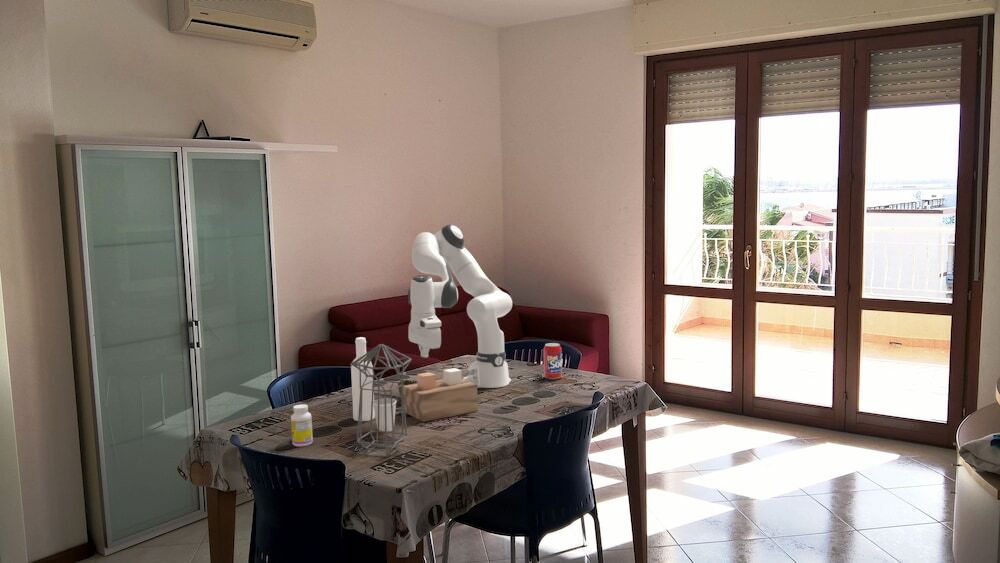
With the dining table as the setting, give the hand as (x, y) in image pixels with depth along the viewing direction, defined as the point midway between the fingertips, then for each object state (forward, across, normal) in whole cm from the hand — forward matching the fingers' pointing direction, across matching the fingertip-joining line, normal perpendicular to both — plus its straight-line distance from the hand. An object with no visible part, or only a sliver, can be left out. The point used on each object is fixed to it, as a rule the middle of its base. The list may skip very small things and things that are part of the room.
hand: (424, 356), depth 285 cm
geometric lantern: (+22, +31, -30) cm, 48 cm away
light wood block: (+22, 0, +6) cm, 22 cm away
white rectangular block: (+16, 0, +11) cm, 19 cm away
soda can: (+22, -16, +70) cm, 75 cm away
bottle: (+22, -8, -21) cm, 32 cm away
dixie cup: (+22, +8, -20) cm, 31 cm away
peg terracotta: (+16, 0, 0) cm, 16 cm away
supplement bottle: (+22, +7, -49) cm, 54 cm away
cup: (+22, -20, +2) cm, 29 cm away
